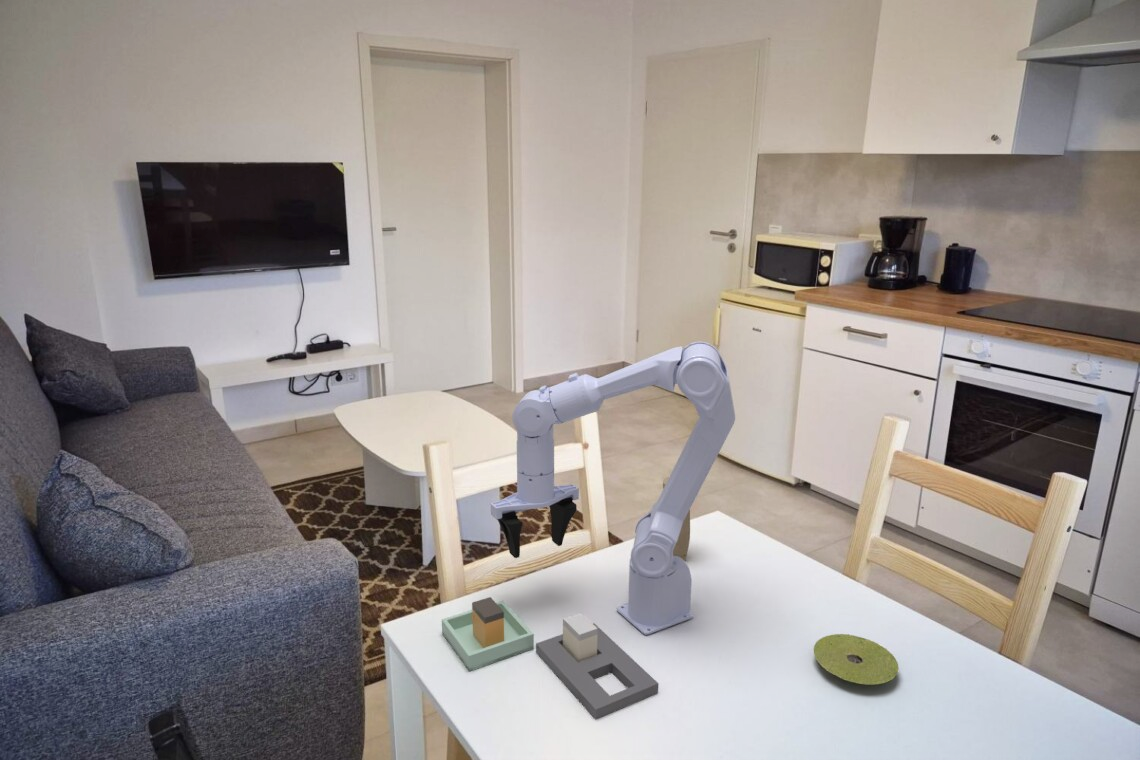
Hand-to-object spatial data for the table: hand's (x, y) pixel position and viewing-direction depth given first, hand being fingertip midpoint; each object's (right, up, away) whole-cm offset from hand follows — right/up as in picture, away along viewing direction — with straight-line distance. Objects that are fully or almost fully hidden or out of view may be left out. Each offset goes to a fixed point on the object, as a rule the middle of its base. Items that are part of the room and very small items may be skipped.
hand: (536, 549), depth 118 cm
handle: (+25, -6, +17) cm, 31 cm away
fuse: (+7, -13, -10) cm, 18 cm away
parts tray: (-7, -12, -7) cm, 16 cm away
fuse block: (+9, -14, -14) cm, 21 cm away
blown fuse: (-7, -12, -7) cm, 15 cm away
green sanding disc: (+46, -14, -12) cm, 49 cm away
